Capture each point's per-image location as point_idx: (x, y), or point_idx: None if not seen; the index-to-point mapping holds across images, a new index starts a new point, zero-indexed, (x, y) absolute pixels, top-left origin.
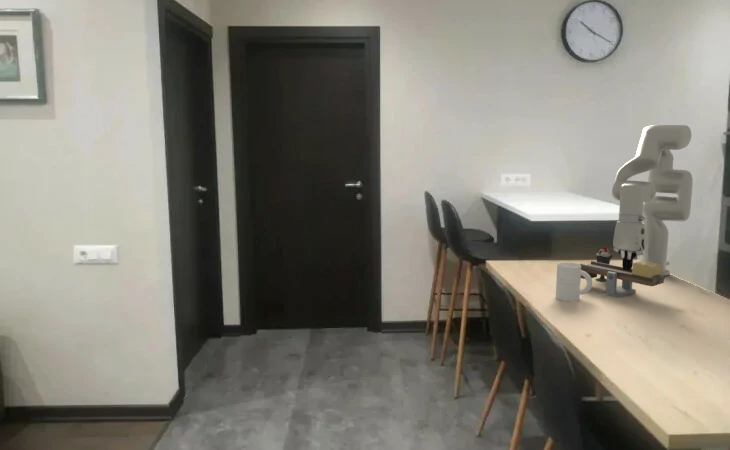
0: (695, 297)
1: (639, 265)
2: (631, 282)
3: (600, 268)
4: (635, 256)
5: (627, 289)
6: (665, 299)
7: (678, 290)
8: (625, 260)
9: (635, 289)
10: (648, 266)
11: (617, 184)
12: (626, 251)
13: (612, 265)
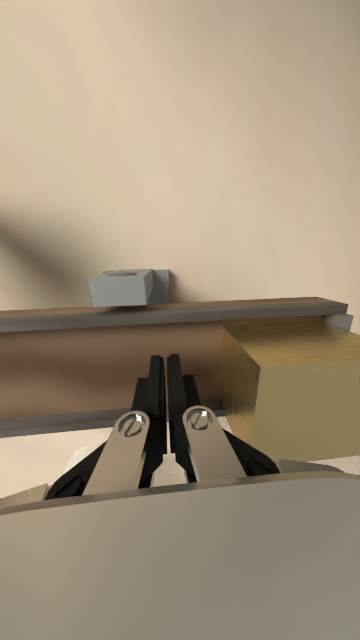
0: (352, 148)
1: (288, 457)
2: (150, 277)
3: (54, 432)
4: (238, 443)
5: (151, 296)
6: (277, 273)
7: (270, 73)
8: (166, 444)
9: (168, 271)
10: (347, 455)
11: None
12: (127, 489)
13: (25, 330)
